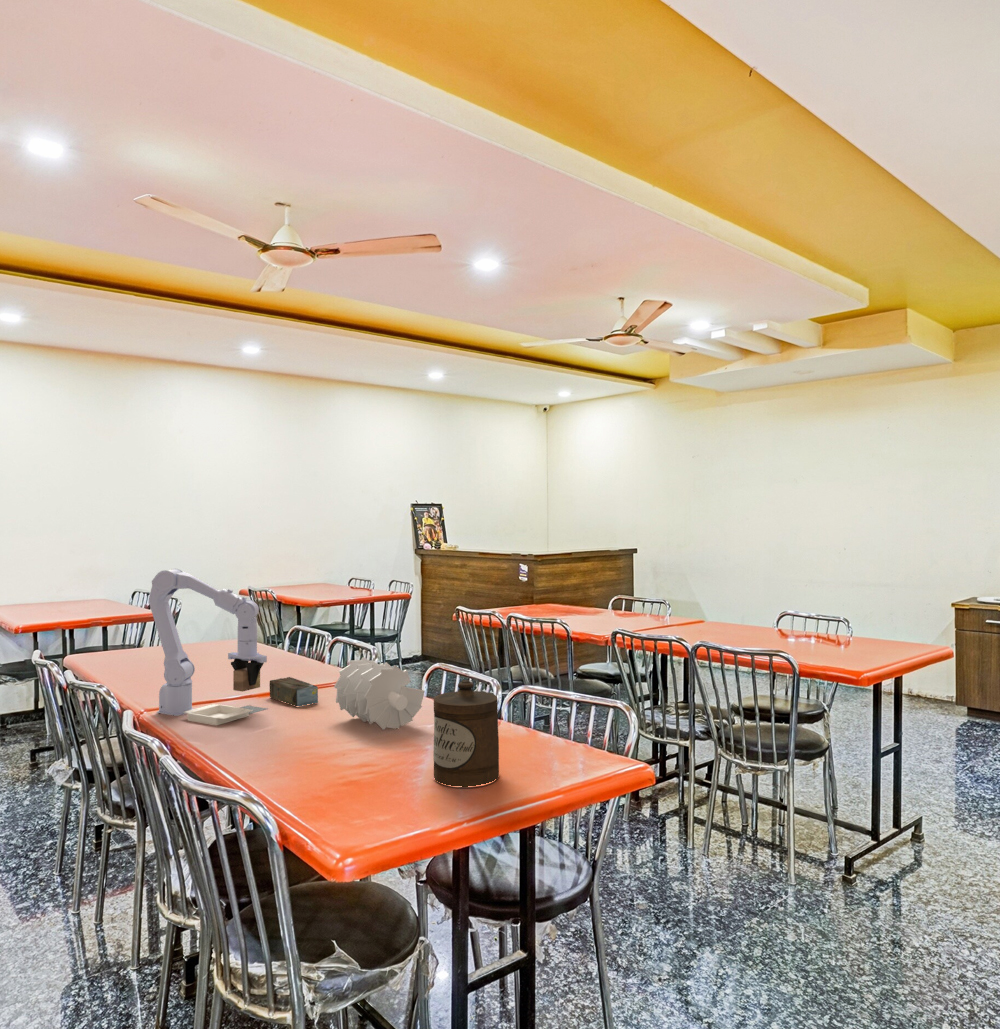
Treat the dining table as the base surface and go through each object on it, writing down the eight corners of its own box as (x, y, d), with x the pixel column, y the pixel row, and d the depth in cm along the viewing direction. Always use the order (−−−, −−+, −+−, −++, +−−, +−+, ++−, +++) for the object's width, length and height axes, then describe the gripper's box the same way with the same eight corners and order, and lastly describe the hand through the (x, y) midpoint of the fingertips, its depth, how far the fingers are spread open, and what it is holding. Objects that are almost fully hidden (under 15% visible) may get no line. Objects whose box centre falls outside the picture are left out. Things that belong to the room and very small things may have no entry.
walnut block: (242, 691, 226) (242, 671, 226) (233, 690, 227) (233, 670, 228) (260, 687, 232) (260, 667, 232) (250, 685, 234) (250, 666, 234)
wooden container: (420, 777, 169) (420, 680, 169) (468, 763, 179) (468, 671, 179) (463, 794, 158) (463, 690, 158) (512, 777, 168) (512, 680, 169)
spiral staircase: (386, 748, 204) (342, 725, 223) (434, 711, 214) (388, 692, 233) (362, 693, 199) (320, 674, 218) (413, 658, 209) (368, 643, 228)
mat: (225, 712, 228) (225, 711, 228) (247, 706, 236) (247, 705, 236) (246, 716, 223) (246, 715, 223) (268, 709, 231) (268, 708, 231)
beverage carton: (296, 708, 234) (296, 687, 234) (268, 698, 248) (268, 678, 248) (318, 704, 240) (318, 683, 240) (290, 694, 254) (290, 675, 254)
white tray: (181, 720, 218) (181, 712, 218) (214, 711, 229) (214, 703, 229) (222, 727, 211) (222, 719, 211) (254, 718, 221) (254, 709, 221)
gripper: (274, 640, 230) (274, 684, 230) (240, 636, 237) (240, 679, 237) (256, 643, 224) (256, 688, 224) (222, 639, 231) (222, 683, 230)
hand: (247, 684), depth 230 cm, fingers closed on walnut block, 4 cm apart
